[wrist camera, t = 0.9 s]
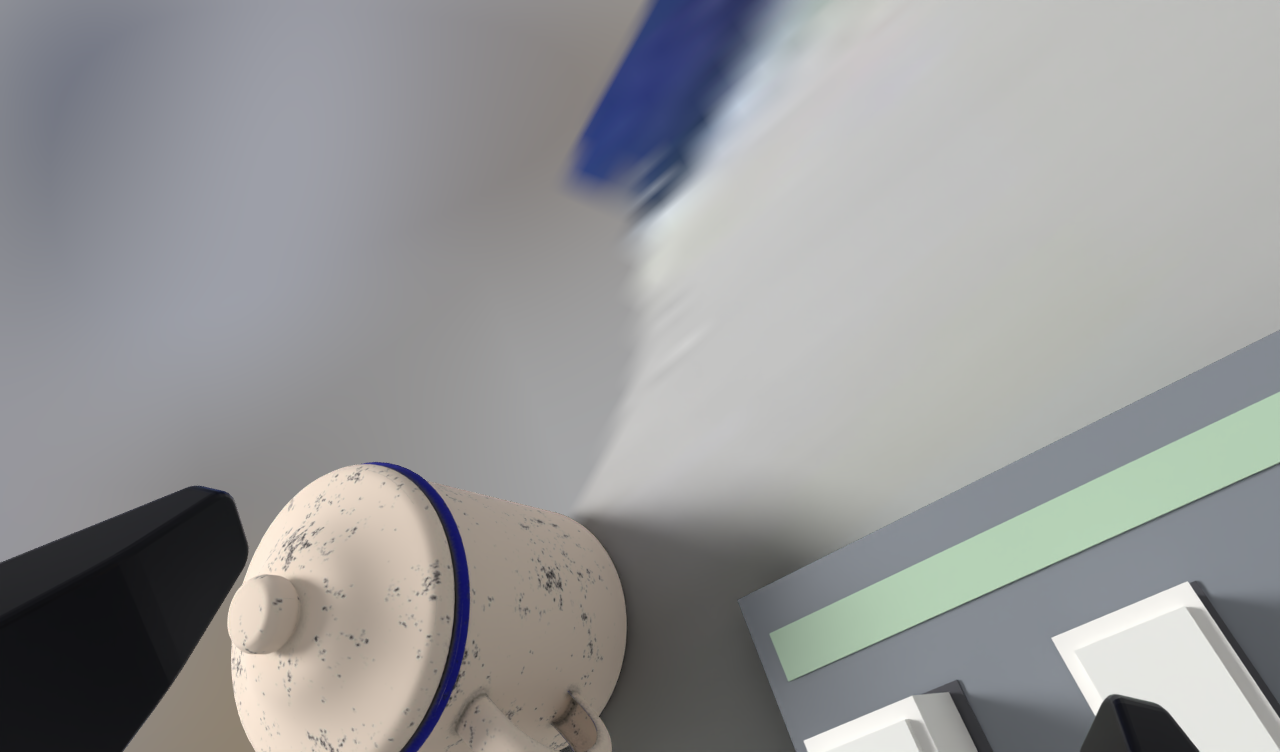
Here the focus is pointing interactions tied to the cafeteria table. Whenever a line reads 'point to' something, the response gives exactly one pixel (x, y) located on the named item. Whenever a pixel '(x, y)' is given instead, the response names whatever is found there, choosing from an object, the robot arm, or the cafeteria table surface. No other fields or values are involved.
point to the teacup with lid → (424, 623)
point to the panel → (1045, 568)
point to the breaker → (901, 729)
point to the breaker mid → (1173, 670)
